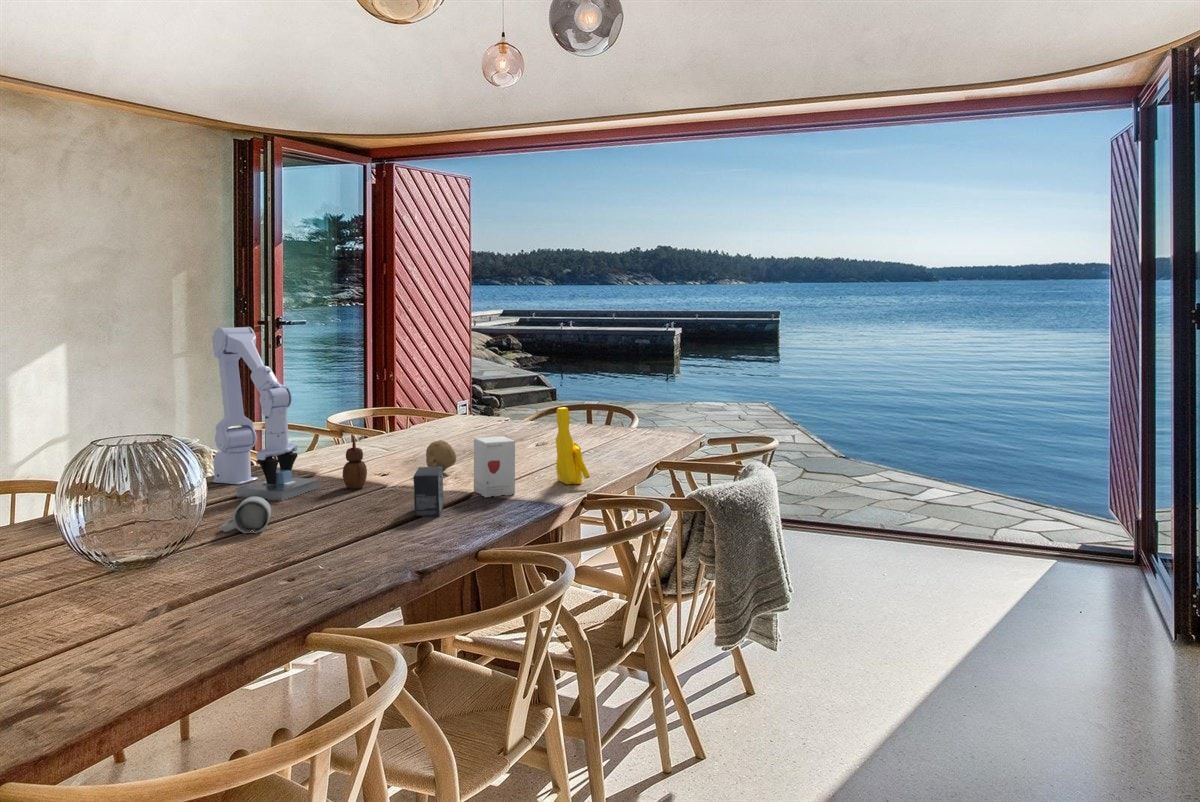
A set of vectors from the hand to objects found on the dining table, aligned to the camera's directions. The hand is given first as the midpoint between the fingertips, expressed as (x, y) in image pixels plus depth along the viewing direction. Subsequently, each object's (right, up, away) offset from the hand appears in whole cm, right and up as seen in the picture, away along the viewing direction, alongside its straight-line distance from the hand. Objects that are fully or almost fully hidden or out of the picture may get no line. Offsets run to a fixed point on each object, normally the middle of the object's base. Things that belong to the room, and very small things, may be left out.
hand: (278, 481), depth 236 cm
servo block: (0, -3, 0) cm, 3 cm away
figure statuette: (+78, -2, +16) cm, 80 cm away
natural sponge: (+39, 0, +28) cm, 48 cm away
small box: (+44, -6, -18) cm, 48 cm away
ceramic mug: (+7, -8, -37) cm, 38 cm away
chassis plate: (0, -3, 0) cm, 3 cm away
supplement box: (+58, -4, +2) cm, 58 cm away
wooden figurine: (+19, -3, +7) cm, 20 cm away
